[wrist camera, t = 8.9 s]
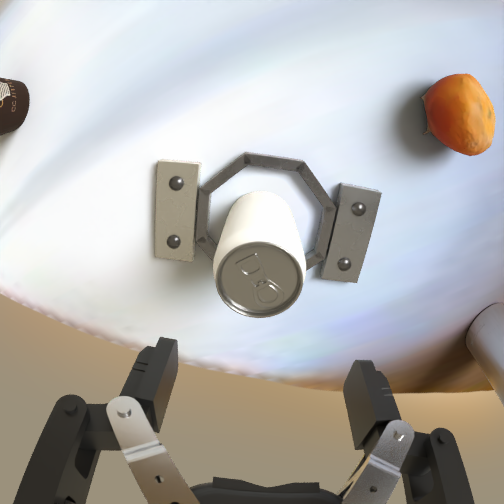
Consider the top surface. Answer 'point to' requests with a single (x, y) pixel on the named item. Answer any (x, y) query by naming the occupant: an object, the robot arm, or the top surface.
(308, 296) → the top surface
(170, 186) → the octagonal ring bracket
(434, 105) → the fruit
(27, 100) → the coffee mug
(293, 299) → the can
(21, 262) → the top surface
